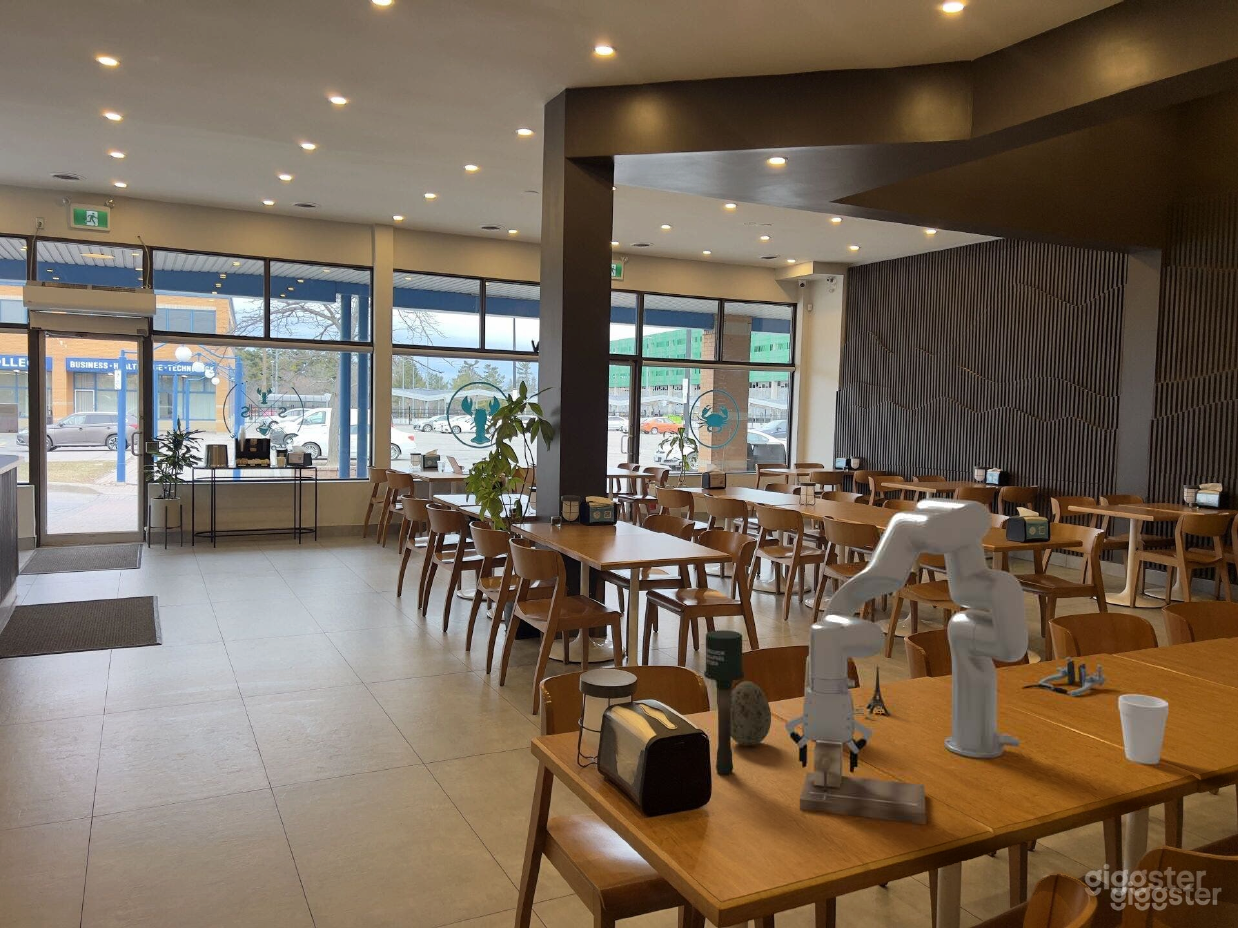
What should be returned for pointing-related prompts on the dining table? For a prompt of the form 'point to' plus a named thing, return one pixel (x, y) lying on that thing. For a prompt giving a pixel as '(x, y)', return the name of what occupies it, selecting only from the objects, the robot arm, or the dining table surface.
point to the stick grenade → (724, 686)
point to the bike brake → (1073, 679)
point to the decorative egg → (749, 714)
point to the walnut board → (867, 799)
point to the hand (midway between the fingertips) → (828, 767)
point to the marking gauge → (827, 764)
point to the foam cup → (1143, 726)
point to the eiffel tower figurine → (875, 699)
